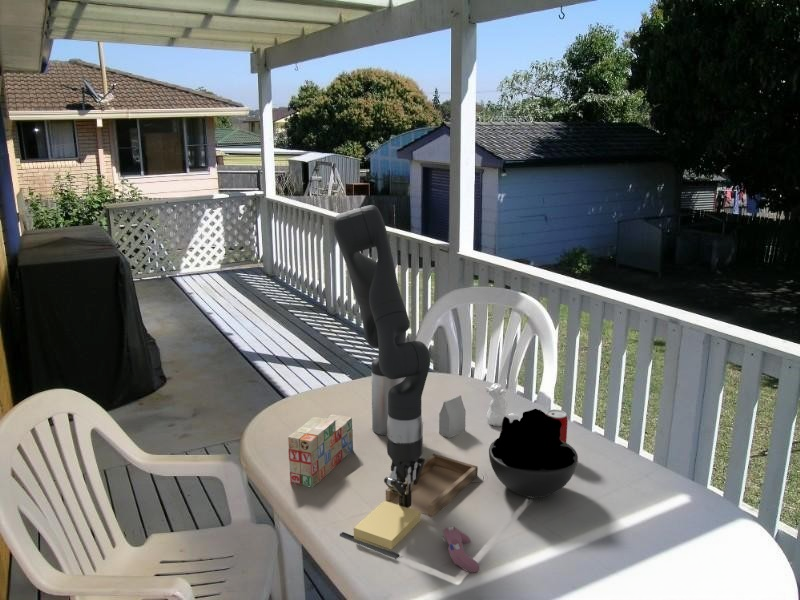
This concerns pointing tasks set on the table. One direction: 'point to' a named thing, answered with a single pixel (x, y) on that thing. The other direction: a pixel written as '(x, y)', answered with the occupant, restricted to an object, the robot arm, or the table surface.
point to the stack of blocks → (319, 448)
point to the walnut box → (437, 484)
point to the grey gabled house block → (452, 417)
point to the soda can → (562, 418)
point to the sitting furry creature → (498, 406)
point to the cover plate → (386, 525)
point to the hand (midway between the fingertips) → (405, 506)
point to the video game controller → (459, 549)
